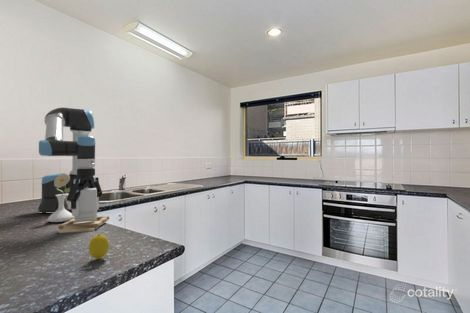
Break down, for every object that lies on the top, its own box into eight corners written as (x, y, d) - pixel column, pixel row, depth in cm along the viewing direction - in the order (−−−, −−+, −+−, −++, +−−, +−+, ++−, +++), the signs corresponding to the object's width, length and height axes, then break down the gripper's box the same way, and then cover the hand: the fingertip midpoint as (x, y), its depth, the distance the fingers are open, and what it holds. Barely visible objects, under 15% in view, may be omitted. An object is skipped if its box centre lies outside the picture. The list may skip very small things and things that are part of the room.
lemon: (94, 256, 78) (94, 231, 78) (111, 255, 79) (111, 231, 79) (85, 263, 73) (85, 237, 73) (104, 262, 73) (104, 236, 73)
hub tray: (77, 221, 123) (77, 216, 123) (110, 219, 126) (110, 215, 126) (55, 232, 104) (55, 227, 104) (95, 230, 107) (95, 225, 107)
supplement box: (96, 216, 121) (96, 187, 122) (97, 220, 114) (97, 189, 114) (75, 219, 117) (75, 188, 117) (74, 223, 109) (74, 190, 109)
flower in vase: (42, 222, 122) (43, 173, 122) (67, 217, 132) (67, 172, 132) (56, 225, 116) (56, 174, 116) (80, 220, 126) (80, 172, 126)
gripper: (72, 168, 103) (71, 219, 103) (110, 167, 127) (110, 207, 127) (56, 168, 104) (56, 218, 104) (97, 167, 128) (97, 207, 128)
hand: (85, 212), depth 115 cm, fingers closed on supplement box, 12 cm apart
